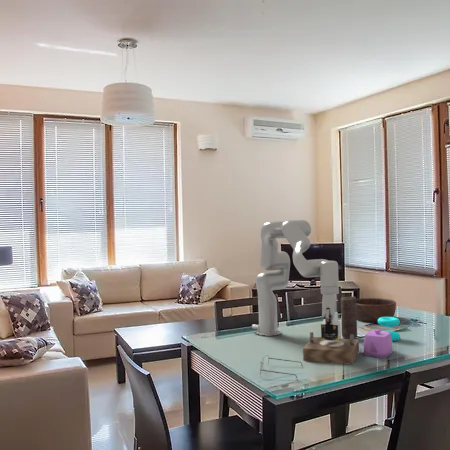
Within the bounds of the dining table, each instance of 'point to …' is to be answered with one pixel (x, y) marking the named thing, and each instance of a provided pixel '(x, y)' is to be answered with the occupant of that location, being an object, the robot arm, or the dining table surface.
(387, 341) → the teapot
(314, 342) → the stand
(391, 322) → the donuts
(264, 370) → the eyeglasses
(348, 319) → the brown rusty cylinder
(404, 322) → the dining table surface
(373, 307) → the wooden bowl
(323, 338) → the medicine bottle
